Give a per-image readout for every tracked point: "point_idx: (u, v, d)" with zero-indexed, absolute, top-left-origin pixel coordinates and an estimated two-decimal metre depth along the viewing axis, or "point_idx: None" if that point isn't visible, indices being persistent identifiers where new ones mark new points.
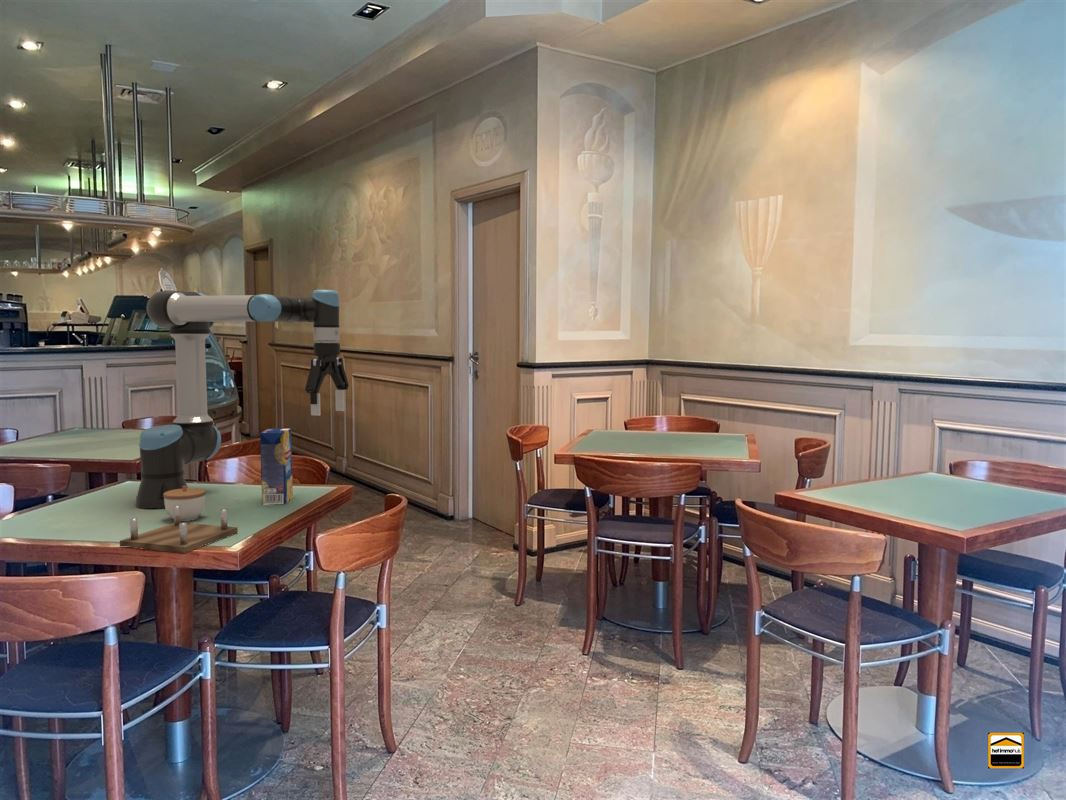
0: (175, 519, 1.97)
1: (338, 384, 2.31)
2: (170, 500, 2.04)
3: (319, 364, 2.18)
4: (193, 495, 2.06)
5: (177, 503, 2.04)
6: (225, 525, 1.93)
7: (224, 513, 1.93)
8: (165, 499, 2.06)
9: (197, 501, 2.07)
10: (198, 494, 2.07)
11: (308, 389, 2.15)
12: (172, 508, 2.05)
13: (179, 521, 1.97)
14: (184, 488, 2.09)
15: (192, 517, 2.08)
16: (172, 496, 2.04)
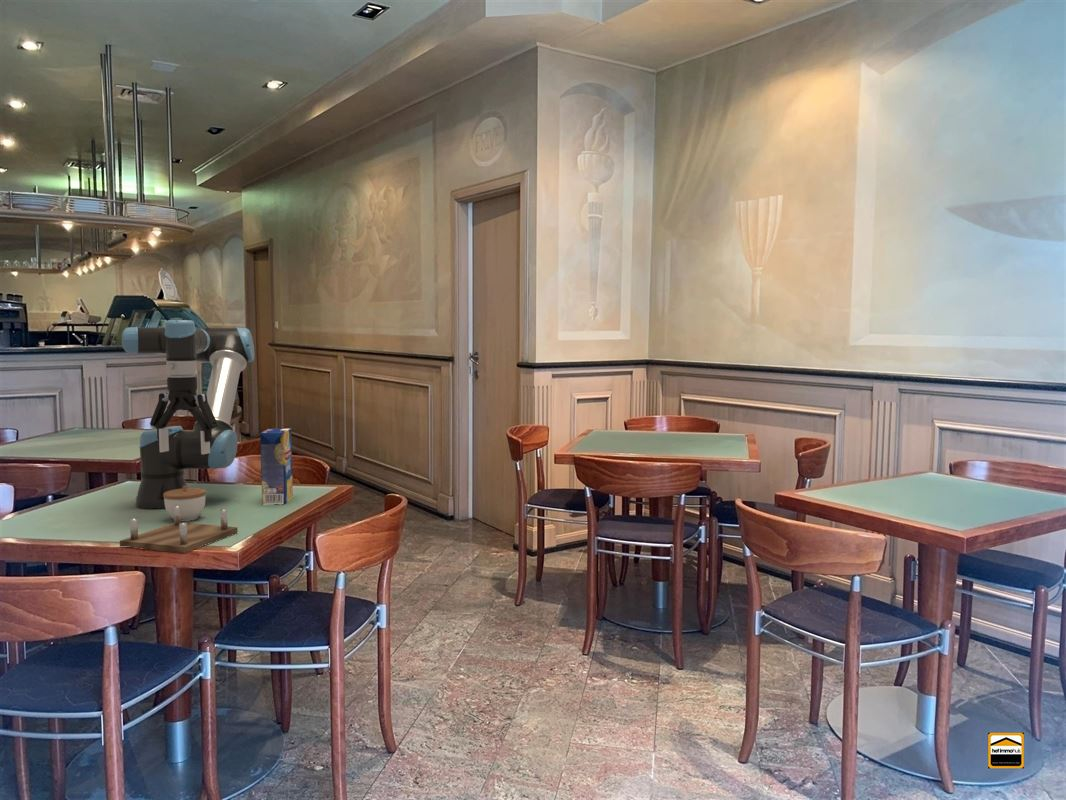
0: (175, 519, 1.97)
1: None
2: (170, 500, 2.04)
3: (160, 399, 2.08)
4: (193, 495, 2.06)
5: (177, 503, 2.04)
6: (225, 525, 1.93)
7: (224, 513, 1.93)
8: (165, 499, 2.06)
9: (197, 501, 2.07)
10: (198, 494, 2.07)
11: None
12: (172, 508, 2.05)
13: (179, 521, 1.97)
14: (184, 488, 2.09)
15: (192, 517, 2.08)
16: (172, 496, 2.04)
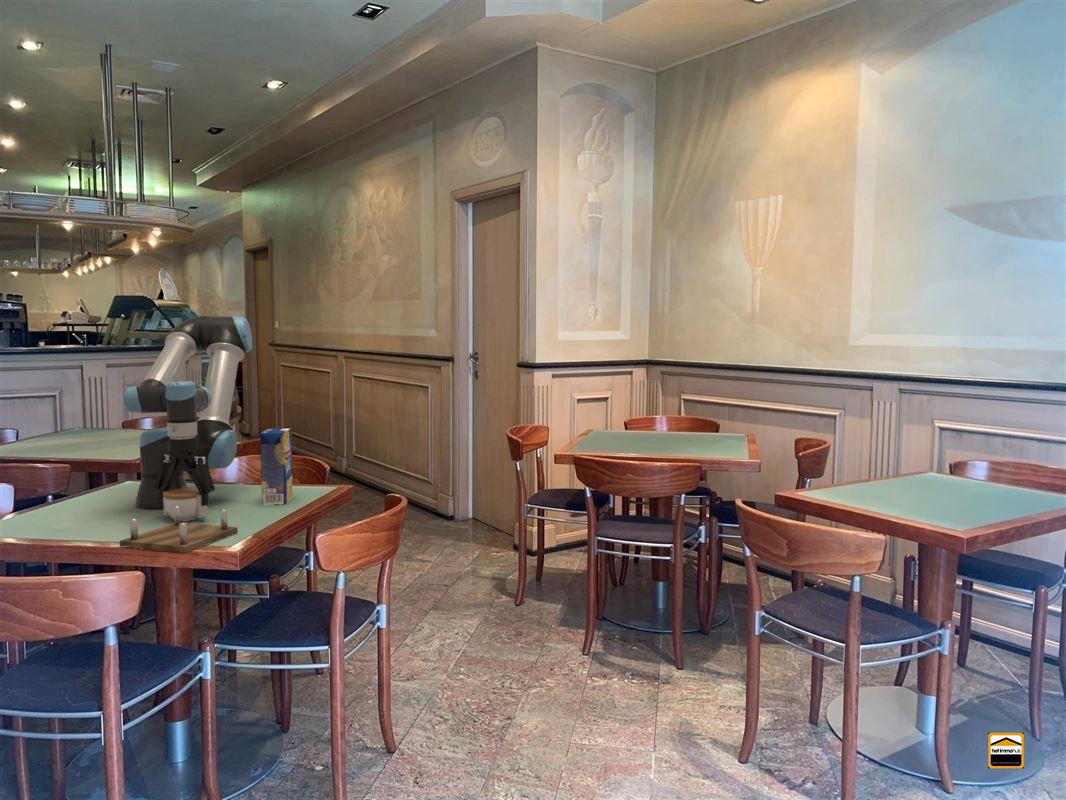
0: (175, 519, 1.97)
1: None
2: (170, 500, 2.04)
3: (162, 461, 2.09)
4: (193, 495, 2.06)
5: (177, 503, 2.04)
6: (225, 525, 1.93)
7: (224, 513, 1.93)
8: (165, 499, 2.06)
9: (197, 501, 2.07)
10: None
11: None
12: (172, 508, 2.05)
13: (179, 521, 1.97)
14: (184, 488, 2.09)
15: (192, 517, 2.08)
16: (172, 496, 2.04)
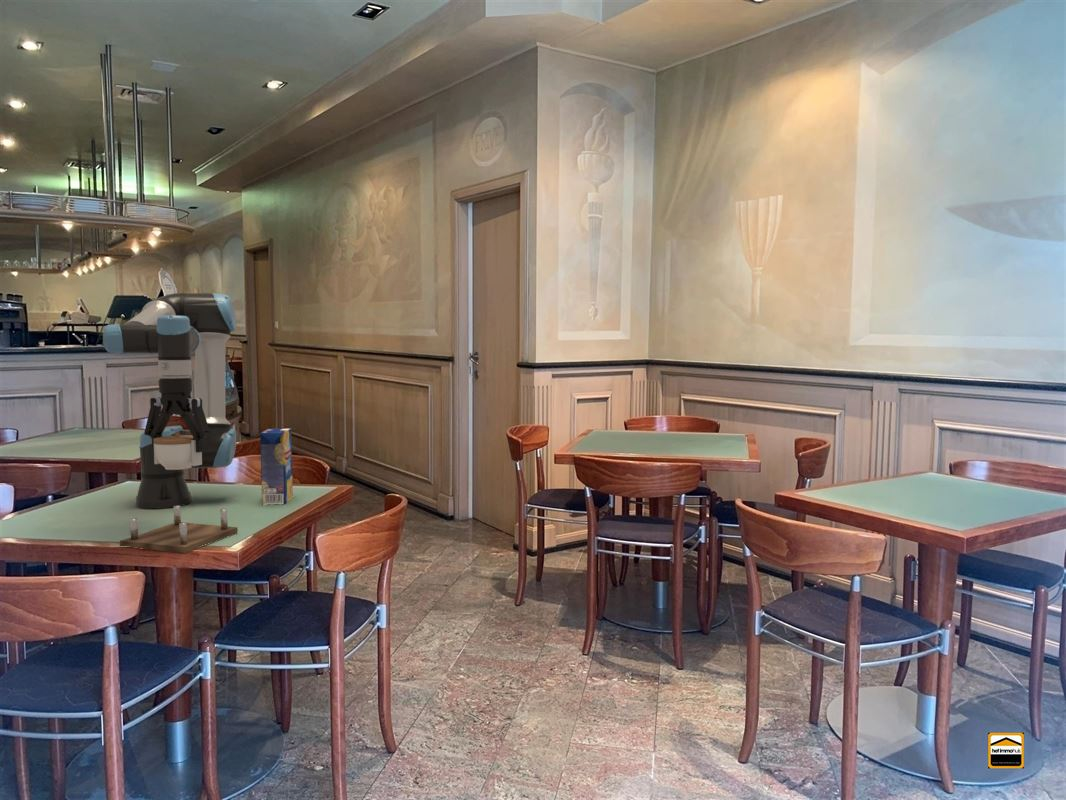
0: (175, 519, 1.97)
1: None
2: (161, 445, 1.85)
3: (152, 404, 1.89)
4: (186, 440, 1.86)
5: (168, 448, 1.84)
6: (225, 525, 1.93)
7: (224, 513, 1.93)
8: (155, 444, 1.86)
9: None
10: None
11: None
12: (163, 454, 1.85)
13: (179, 521, 1.97)
14: (177, 433, 1.89)
15: (185, 465, 1.88)
16: (163, 441, 1.84)
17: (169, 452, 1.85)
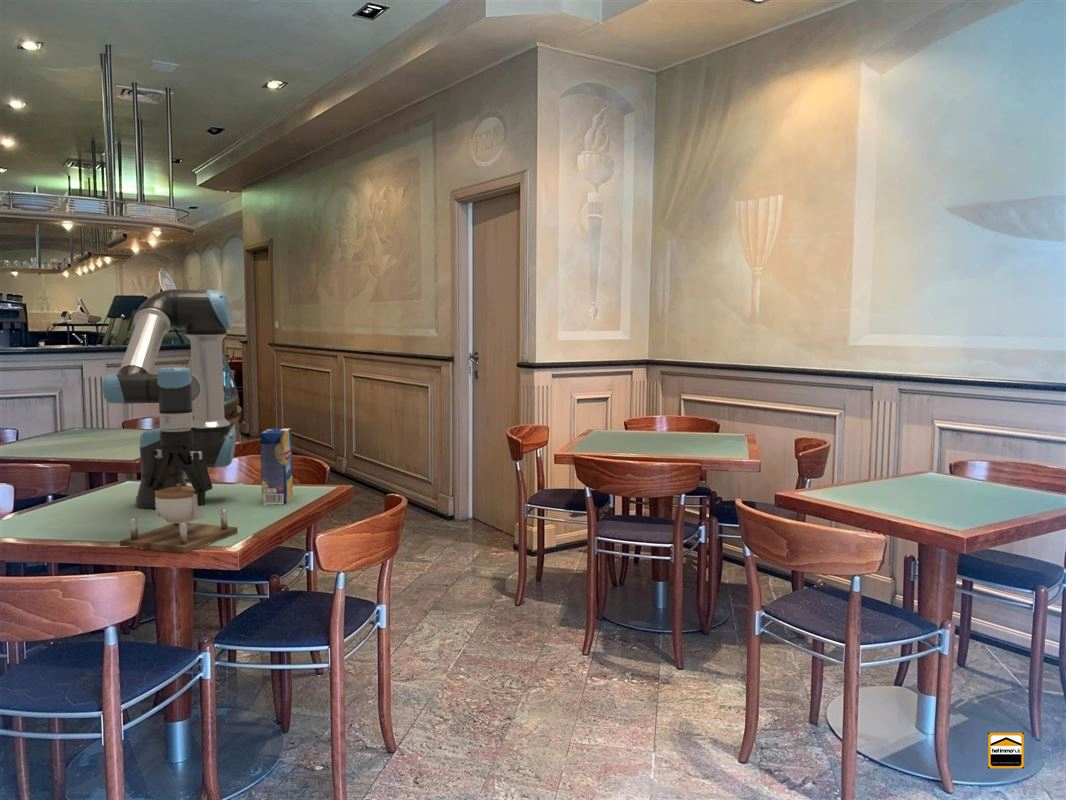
0: None
1: None
2: (162, 499, 1.83)
3: (153, 456, 1.87)
4: (188, 494, 1.84)
5: (170, 503, 1.83)
6: (225, 525, 1.93)
7: (224, 513, 1.93)
8: (157, 498, 1.84)
9: None
10: None
11: None
12: (165, 508, 1.83)
13: None
14: (178, 486, 1.87)
15: (187, 518, 1.86)
16: (165, 495, 1.82)
17: (171, 506, 1.83)
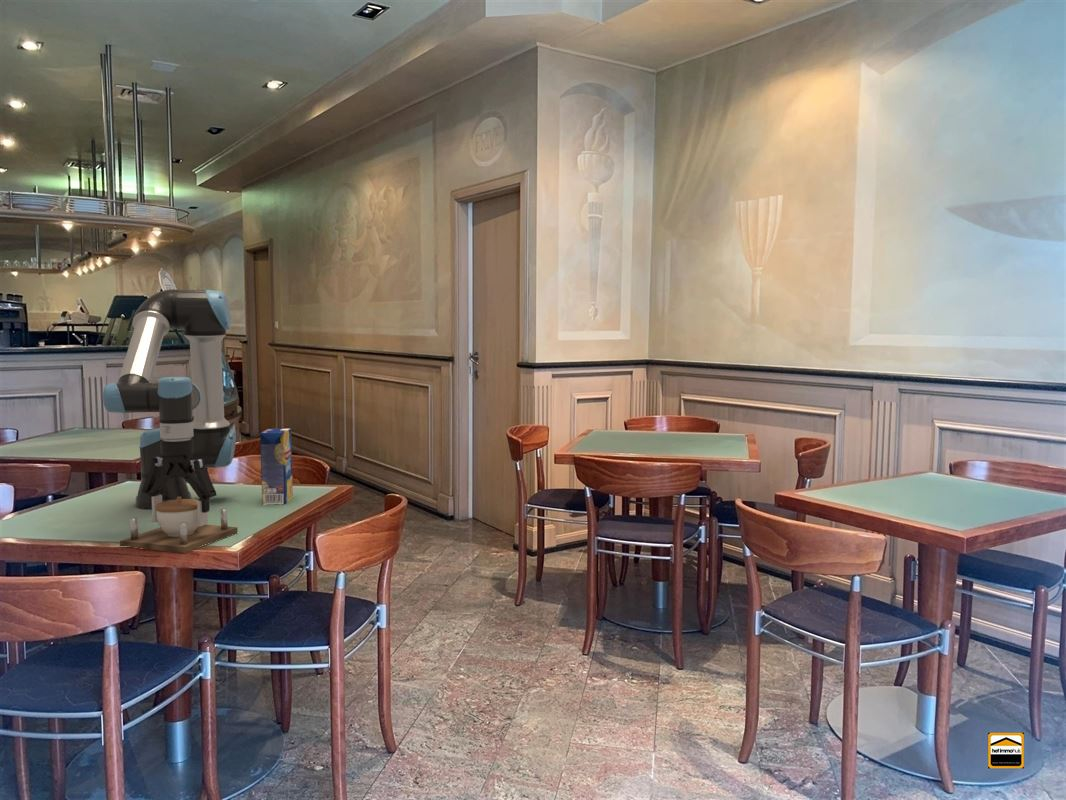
0: None
1: None
2: (163, 513, 1.83)
3: (153, 464, 1.88)
4: (189, 507, 1.85)
5: (171, 516, 1.83)
6: (225, 525, 1.93)
7: (224, 513, 1.93)
8: (157, 512, 1.84)
9: (193, 514, 1.86)
10: (194, 506, 1.86)
11: None
12: (165, 522, 1.83)
13: None
14: (179, 499, 1.88)
15: (187, 532, 1.86)
16: (165, 508, 1.83)
17: (171, 520, 1.83)
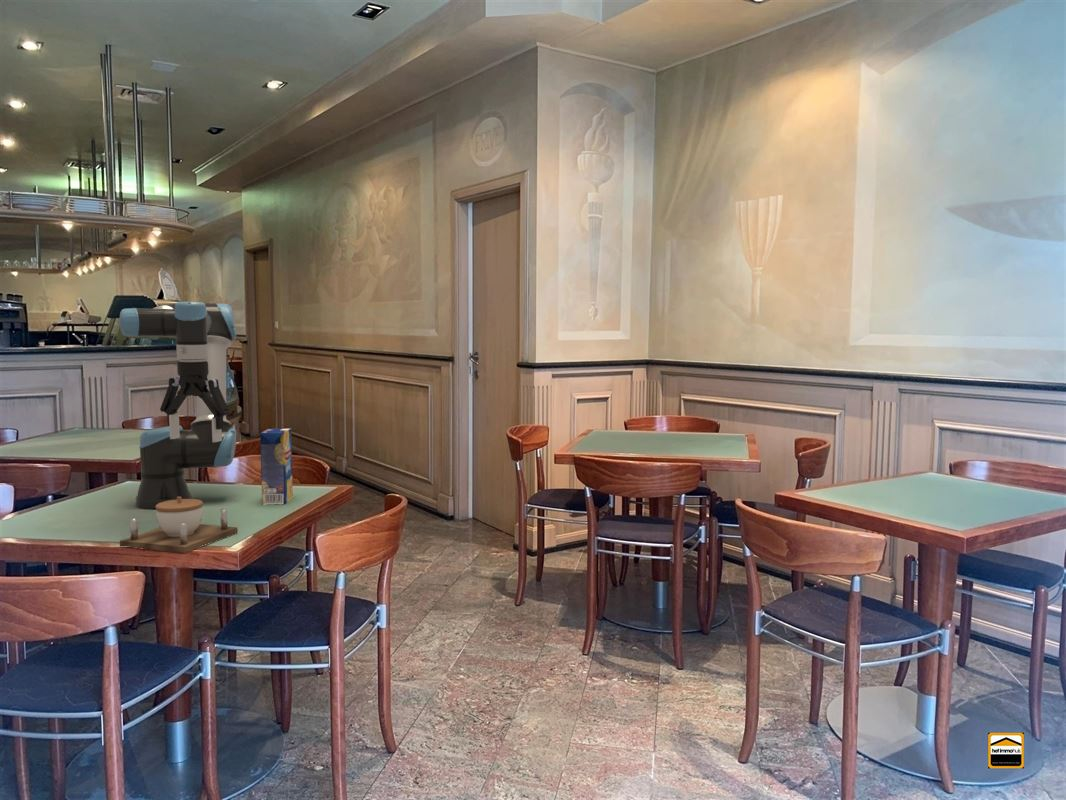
0: None
1: None
2: (163, 513, 1.83)
3: (170, 384, 1.99)
4: (189, 507, 1.85)
5: (171, 516, 1.83)
6: (225, 525, 1.93)
7: (224, 513, 1.93)
8: (157, 512, 1.84)
9: (193, 514, 1.86)
10: (194, 506, 1.86)
11: None
12: (165, 522, 1.83)
13: None
14: (179, 499, 1.88)
15: (187, 532, 1.86)
16: (165, 508, 1.83)
17: (171, 520, 1.83)
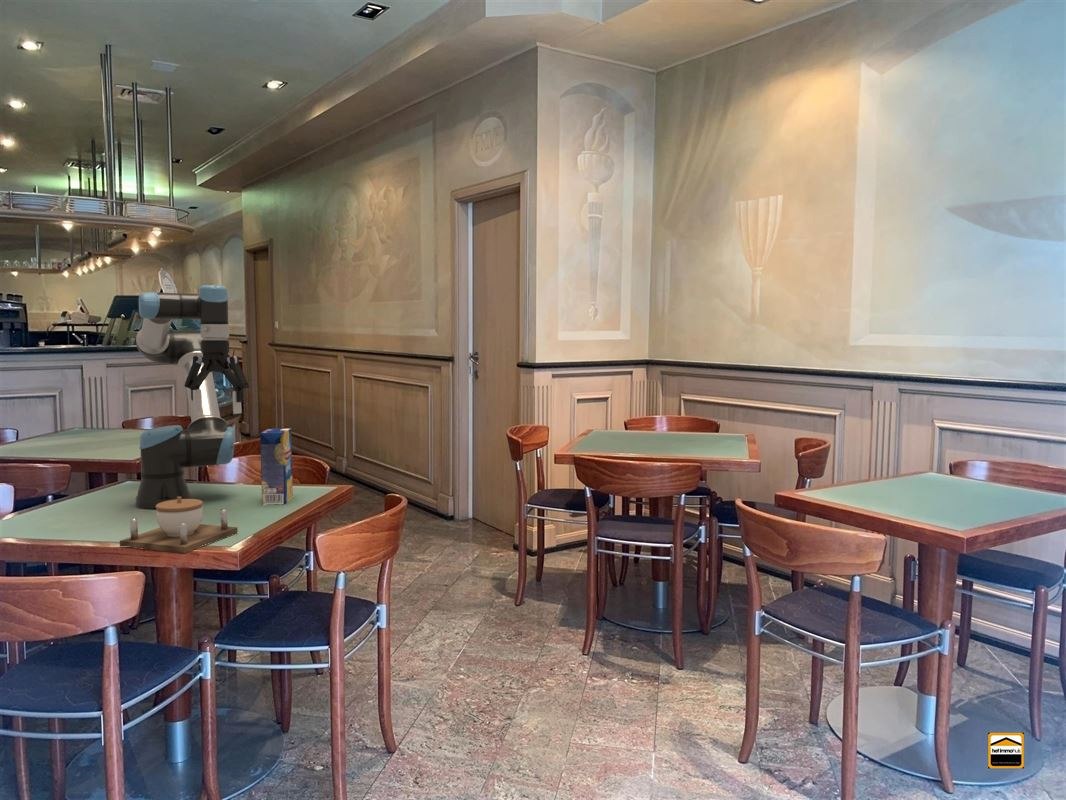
0: None
1: None
2: (163, 513, 1.83)
3: (194, 361, 2.18)
4: (189, 507, 1.85)
5: (171, 516, 1.83)
6: (225, 525, 1.93)
7: (224, 513, 1.93)
8: (157, 512, 1.84)
9: (193, 514, 1.86)
10: (194, 506, 1.86)
11: None
12: (165, 522, 1.83)
13: None
14: (179, 499, 1.88)
15: (187, 532, 1.86)
16: (165, 508, 1.83)
17: (171, 520, 1.83)
